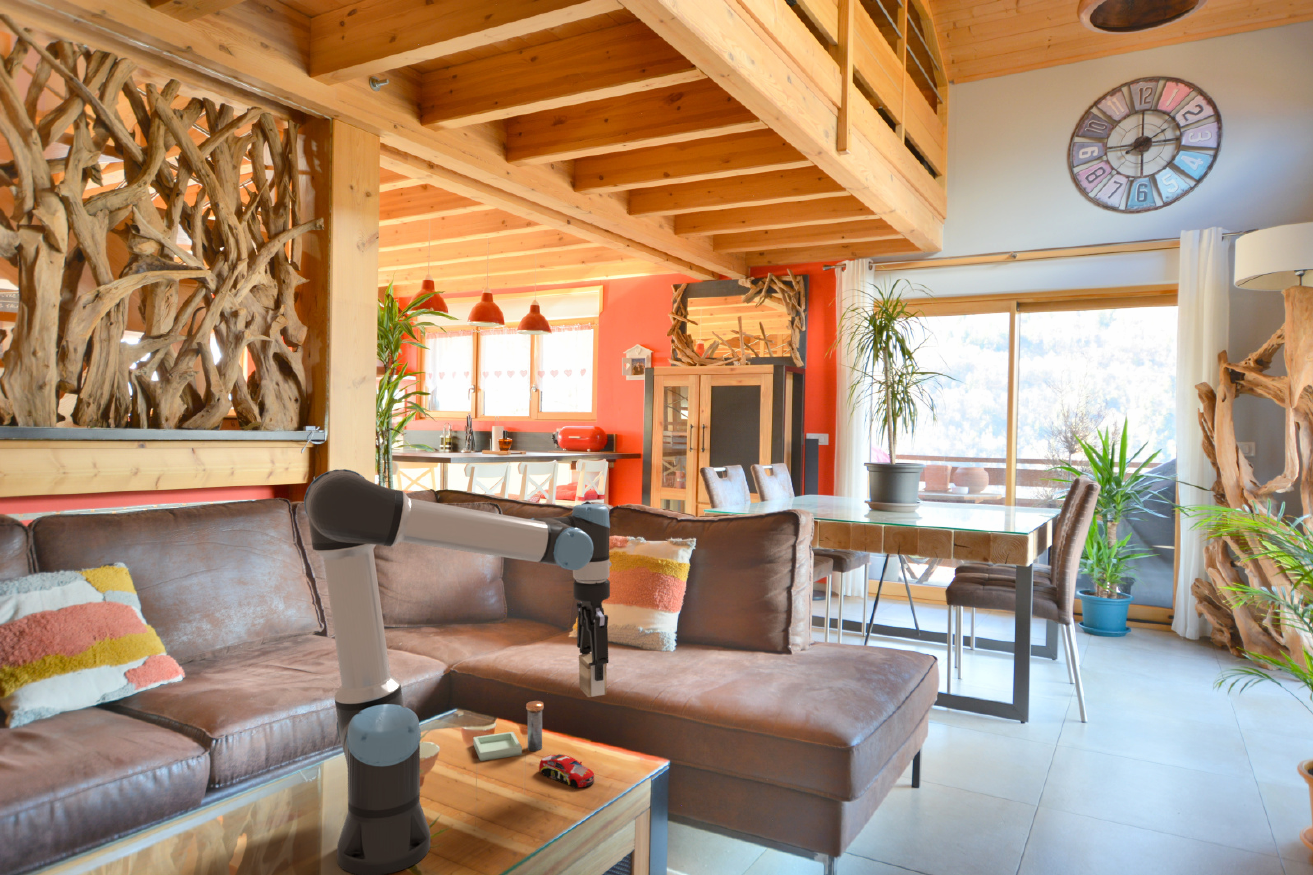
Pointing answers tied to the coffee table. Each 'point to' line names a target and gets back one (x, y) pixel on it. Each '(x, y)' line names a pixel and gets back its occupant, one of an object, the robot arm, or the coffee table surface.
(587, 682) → the brown lidded box
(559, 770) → the race car
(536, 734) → the pin
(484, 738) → the tray
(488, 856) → the coffee table surface
